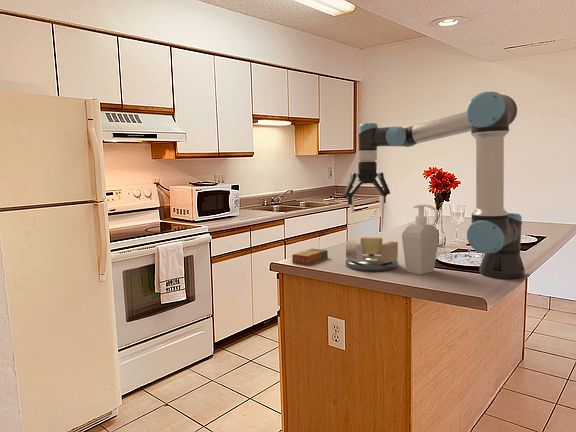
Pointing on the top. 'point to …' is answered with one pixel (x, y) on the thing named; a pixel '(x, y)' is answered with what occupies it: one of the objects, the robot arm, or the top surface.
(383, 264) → the dark grey plate
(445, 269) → the top surface
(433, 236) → the soap bottle
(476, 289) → the top surface
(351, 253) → the knob
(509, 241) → the robot arm
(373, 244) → the olive yellow block
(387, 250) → the tan rectangular block
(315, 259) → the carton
